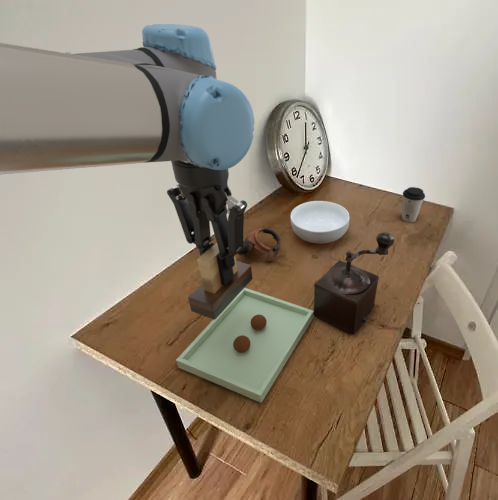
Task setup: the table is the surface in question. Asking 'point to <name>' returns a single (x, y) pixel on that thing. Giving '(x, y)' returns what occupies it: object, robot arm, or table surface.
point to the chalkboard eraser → (217, 285)
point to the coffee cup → (412, 203)
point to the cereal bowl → (319, 221)
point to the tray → (261, 344)
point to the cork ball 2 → (258, 322)
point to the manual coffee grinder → (349, 290)
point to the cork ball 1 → (241, 344)
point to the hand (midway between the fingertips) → (220, 278)
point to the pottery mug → (260, 244)
